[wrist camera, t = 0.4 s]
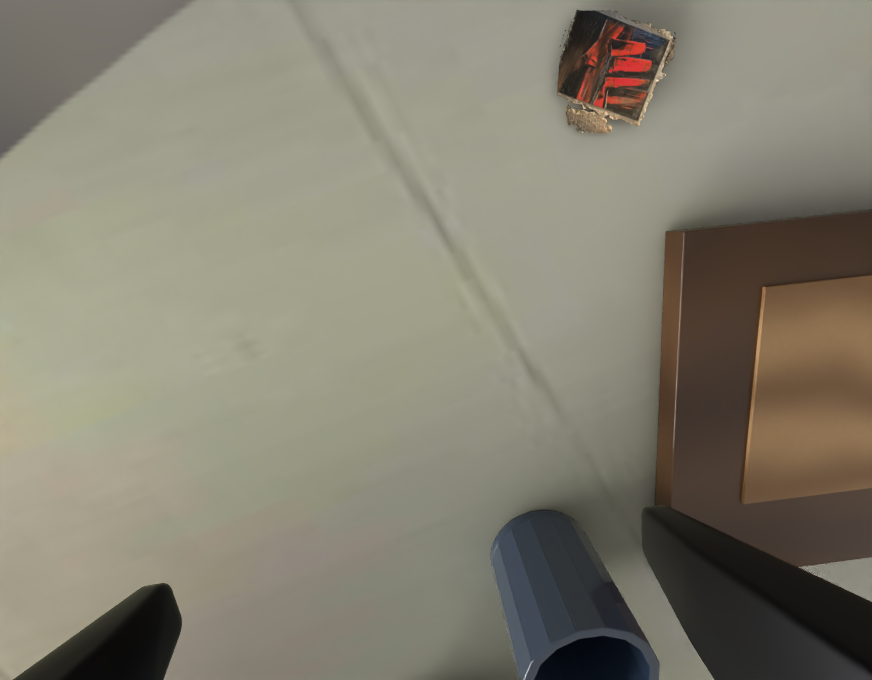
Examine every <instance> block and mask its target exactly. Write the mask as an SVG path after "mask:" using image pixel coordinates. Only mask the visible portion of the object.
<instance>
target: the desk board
mask: <svg viewBox="0 0 872 680" xmlns="http://www.w3.org/2000/svg"><path fill="white" fill-rule="evenodd" d="M658 505H666V506H668V507H671V508H673V509H675V510H677V511H679V512H681V513H683V514H686V515H688V516H690V517H692V518H694V519H696V520H698V521H700V522H703V523H705V524H707V525H709V526H711V527H713V528H715V529H717V530H720V531H722V532H724V533H726V534H728V535H730V536H732V537H734V538H737V539H739V540H741V541H743V542H745V543H747V544H749V545H752V546H754V547H756V548H758V549H760V550H762V551H764V552H766V553H769V554H771V555H773V556H775V557H777V558H779V559H781V560H783V561H786V562H788V563H790V564H792V565H794V566H796V567H801V566H808V565H816V564H823V563H831V562H838V561H846V560H853V559H861V558H868V557H872V209H869V210H860V211H851V212H841V213H832V214H822V215H813V216H804V217H794V218H785V219H776V220H766V221H757V222H747V223H738V224H729V225H719V226H710V227H701V228H691V229H682V230H672V231H667V232H666V238H665V264H664V290H663V316H662V342H661V368H660V395H659V421H658V447H657V473H656V499H655V506H658Z"/></svg>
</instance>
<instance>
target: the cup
mask: <svg viewBox="0 0 872 680" xmlns="http://www.w3.org/2000/svg"><path fill="white" fill-rule="evenodd" d="M491 565H492V569H493V577H494V581H495V585H496V589H497V593H498V597H499V602H500V606H501V610H502V614H503V618H504V622H505V627H506V631H507V635H508V639H509V643H510V647H511V652H512V656H513V660H514V664H515V668H516V672H517V677H518V680H659V667H660V664H659V661H658V659H657V657H656V655H655V653H654V651H653V649H652V647H651V645H650V644H649V642H648V640H647V638H646V637H645V635H644V633H643V632H642V630H641V628H640V626H639V625H638V623H637V621H636V619H635V618H634V616H633V614H632V613H631V611H630V609H629V607H628V606H627V604H626V602H625V601H624V599H623V597H622V595H621V594H620V592H619V590H618V588H617V587H616V585H615V583H614V582H613V580H612V578H611V576H610V575H609V573H608V571H607V570H606V568H605V566H604V564H603V563H602V561H601V559H600V558H599V556H598V554H597V552H596V551H595V549H594V547H593V545H592V544H591V542H590V540H589V539H588V537H587V535H586V533H585V532H584V531H583V529H582V528H581V526H580V525H579V524H578V523H577V522H576V521H575V520H574V519H572V518H571V517H569V516H567V515H565V514H563V513H560V512H556V511H549V510H540V511H533V512H529V513H526V514H523V515H521V516H518V517H516V518H515V519H513V520H512V521H510V522H509V523H507V524H506V525H505V526H504V527H503V528H502V529H501V531H500V532H499V533H498V535H497V536H496V538H495V540H494V542H493V545H492V548H491Z"/></svg>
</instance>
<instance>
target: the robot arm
mask: <svg viewBox="0 0 872 680" xmlns="http://www.w3.org/2000/svg"><path fill="white" fill-rule="evenodd" d="M641 517H642V547H643V551H644V554H645V557H646V559H647V561H648V563H649V565H650V567H651V568H652V570H653V572H654V574H655V576H656V578H657V580H658V582H659V584H660V585H661V587H662V589H663V591H664V593H665V595H666V597H667V599H668V601H669V603H670V604H671V606H672V608H673V610H674V612H675V614H676V616H677V618H678V620H679V621H680V623H681V625H682V627H683V629H684V631H685V633H686V634H687V636H688V638H689V640H690V642H691V643H692V645H693V646H694V648H695V650H696V651H697V653H698V655H699V656H700V658H701V659H702V661H703V662H704V664H705V665H706V667H707V669H708V670H709V672H710V673H711V675H712V676H713V678H714V679H715V680H872V602H871V601H869V600H866V599H864V598H862V597H860V596H858V595H856V594H854V593H852V592H849V591H847V590H845V589H843V588H841V587H839V586H837V585H835V584H832V583H830V582H828V581H826V580H824V579H822V578H820V577H818V576H815V575H813V574H811V573H809V572H807V571H805V570H803V569H800V568H798V567H796V566H794V565H792V564H790V563H788V562H786V561H783V560H781V559H779V558H777V557H775V556H773V555H771V554H769V553H766V552H764V551H762V550H760V549H758V548H756V547H754V546H752V545H749V544H747V543H745V542H743V541H741V540H739V539H737V538H734V537H732V536H730V535H728V534H726V533H724V532H722V531H720V530H717V529H715V528H713V527H711V526H709V525H707V524H705V523H703V522H700V521H698V520H696V519H694V518H692V517H690V516H688V515H686V514H683V513H681V512H679V511H677V510H675V509H673V508H671V507H668V506H666V505H658V506H652V507H646V508H644V509H643V511H642V516H641ZM181 627H182V618H181V614H180V611H179V608H178V605H177V603H176V600H175V597H174V594H173V591H172V589H171V587H170V586H169V585H168V584H166V583H160V584H154V585H148V586H144V587H142V588H140V589H139V590H137V591H136V592H134V593H133V594H132V595H130V596H129V597H127V598H126V599H125V600H123V601H122V602H120V603H119V604H118V605H116V606H115V607H113V608H112V609H111V610H109V611H108V612H107V613H105V614H104V615H102V616H101V617H100V618H98V619H97V620H95V621H94V622H93V623H91V624H90V625H88V626H87V627H86V628H84V629H83V630H81V631H80V632H79V633H77V634H76V635H75V636H73V637H72V638H70V639H69V640H68V641H66V642H65V643H63V644H62V645H61V646H59V647H58V648H56V649H55V650H54V651H52V652H51V653H49V654H48V655H47V656H45V657H44V658H42V659H41V660H40V661H38V662H37V663H36V664H34V665H33V666H31V667H30V668H29V669H27V670H26V671H24V672H23V673H22V674H20V675H19V676H17V677H16V678H15V679H13V680H163V679H164V676H165V674H166V671H167V668H168V665H169V663H170V660H171V657H172V654H173V652H174V649H175V646H176V643H177V641H178V638H179V635H180V632H181Z"/></svg>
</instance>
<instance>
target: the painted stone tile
mask: <svg viewBox="0 0 872 680" xmlns="http://www.w3.org/2000/svg"><path fill="white" fill-rule="evenodd" d="M565 31H566V30H565ZM670 33H671V32H670V31H668V32H666V29H660V30H659V31H658V29H657V28H653V27H651V23H647V24H645V23H640V22H638V21H634V20H629V19H627V18H626V17H623V16H621V15H619V14H618V12H617V11H611V10H601V11H579V10H576V14H575V17H574V19H573V20H572V21H571V26H570V29H569V34H568V35H567V40H566V42H565V43H564V46H563V51H562V54H561V56H560V64H559V76H558V92H557V95H558V96H561V97H564V98H565V99H567V100H570V101H573V103H574V104H578V105H580V104H582V105H583V108H584V109H586V108H587V107H589V108H590V109H593V110H596V111H595V113H594V112H593V110H592V112H587V111H585V110H580V109H576V108H575V109H576V111H574V109H570V108H571V107H569V105H568V106H567V111H566V115H567V118H568V125H571V124H573V125H575V124H576V125H577V126H578V128H576V131H579V130H580V131H583V132H585V130H586V131H588V133H607V132H611V130H612V129H611V126H610V125H609V126H606V125H605V124H606V123H607V119H606V118H604V116H607V114H608V115H610V118H612V119H613V120H614V119H623V120H625V121H627V123H629V124H636V126H639V125H640V121H641V120H642V118H644V115H643V114H644V113H645V111H646V108H647V105H648V104H649V103H650V99H651V98H653V95H652V93H653V90H654V88H655V86H656V82H659V80H660V79H661V78H663V77H666V74H663V73H662V69H663V67H664V62H665V63H666V62H667V63H666V64H667V65H668V64H669V63H668V62H669V61H670V60H672V59H673V58H674V57H673V56H674V48H675V47H674V45H675V42H676V39H675V37H673V36H671V35H670ZM674 34H676V33H674ZM563 37H564V35H563ZM672 38H673V39H674V41H673V40H672ZM562 40H563V39H562ZM560 46H561V45H560ZM666 57H668V58H667V60H665V59H666ZM568 102H569V101H568ZM598 111H599V112H598ZM600 112H602V113H600Z"/></svg>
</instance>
